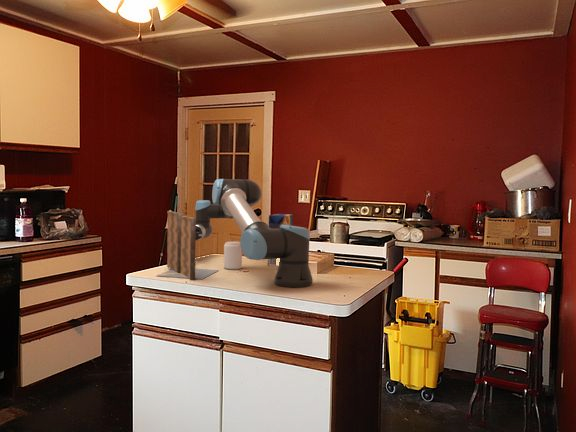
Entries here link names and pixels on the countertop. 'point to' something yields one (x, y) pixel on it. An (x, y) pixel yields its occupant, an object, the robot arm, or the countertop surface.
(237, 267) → the beverage can
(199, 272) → the card
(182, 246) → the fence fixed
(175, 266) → the brown wooden board
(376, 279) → the countertop surface
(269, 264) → the juice carton
